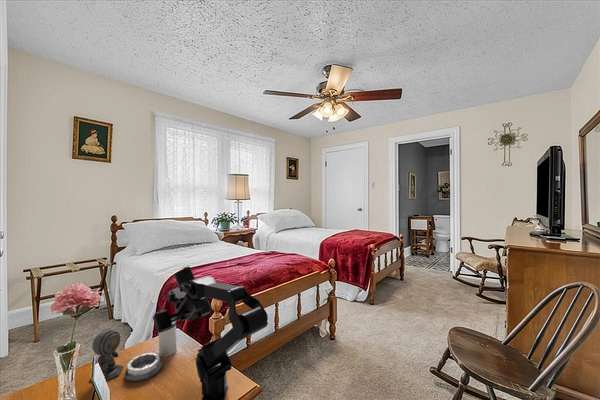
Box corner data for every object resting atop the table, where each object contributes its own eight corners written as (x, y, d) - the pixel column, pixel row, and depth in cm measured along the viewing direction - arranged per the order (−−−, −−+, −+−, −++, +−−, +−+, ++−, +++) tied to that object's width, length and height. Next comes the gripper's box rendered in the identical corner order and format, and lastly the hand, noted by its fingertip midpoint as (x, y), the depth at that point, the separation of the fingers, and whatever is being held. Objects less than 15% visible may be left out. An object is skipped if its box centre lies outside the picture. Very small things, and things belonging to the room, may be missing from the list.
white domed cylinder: (179, 346, 108) (178, 317, 107) (173, 356, 102) (172, 324, 101) (163, 347, 108) (162, 317, 107) (156, 357, 101) (155, 325, 101)
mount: (167, 360, 100) (166, 350, 99) (153, 381, 89) (153, 370, 88) (135, 361, 99) (135, 352, 99) (118, 383, 88) (117, 372, 88)
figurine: (107, 385, 87) (105, 339, 86) (82, 380, 89) (80, 336, 88) (129, 367, 95) (128, 326, 95) (105, 364, 97) (104, 323, 97)
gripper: (206, 275, 102) (192, 297, 110) (154, 289, 88) (142, 313, 95) (218, 301, 97) (203, 322, 105) (165, 321, 83) (151, 343, 91)
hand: (176, 324), depth 99 cm, fingers open, 9 cm apart
